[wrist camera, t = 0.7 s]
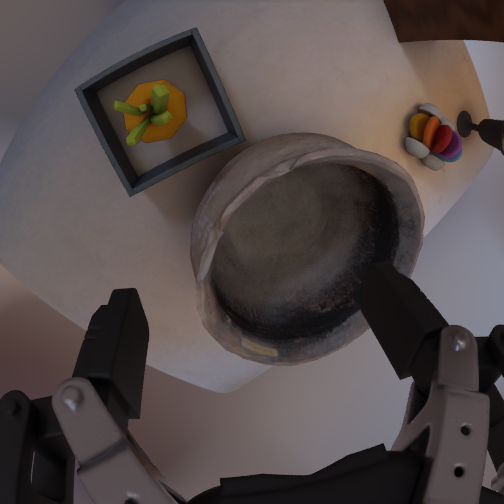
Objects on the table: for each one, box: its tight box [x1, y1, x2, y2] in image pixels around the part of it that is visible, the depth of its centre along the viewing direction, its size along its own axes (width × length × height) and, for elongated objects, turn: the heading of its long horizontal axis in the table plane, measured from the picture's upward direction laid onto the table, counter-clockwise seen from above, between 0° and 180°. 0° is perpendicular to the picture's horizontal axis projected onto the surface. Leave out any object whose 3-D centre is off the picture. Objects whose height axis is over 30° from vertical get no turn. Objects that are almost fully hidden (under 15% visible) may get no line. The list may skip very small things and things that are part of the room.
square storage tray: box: [75, 28, 246, 197], centre depth 25 cm, size 12×12×5 cm
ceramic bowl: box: [190, 133, 425, 366], centre depth 30 cm, size 22×22×15 cm
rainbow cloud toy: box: [405, 103, 462, 170], centre depth 33 cm, size 8×10×7 cm
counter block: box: [384, 0, 504, 43], centre depth 16 cm, size 9×9×24 cm
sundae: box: [457, 111, 504, 155], centre depth 30 cm, size 7×7×15 cm
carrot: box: [114, 80, 187, 146], centre depth 21 cm, size 5×5×15 cm
